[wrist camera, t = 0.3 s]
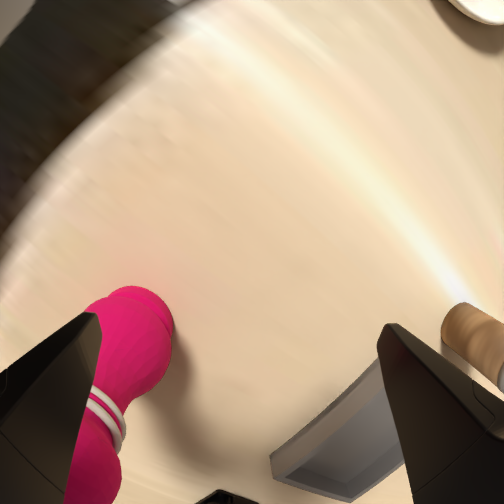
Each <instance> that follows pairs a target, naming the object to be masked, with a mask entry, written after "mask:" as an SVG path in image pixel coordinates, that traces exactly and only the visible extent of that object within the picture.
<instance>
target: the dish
mask: <svg viewBox="0 0 504 504" xmlns="http://www.w3.org/2000/svg"><path fill="white" fill-rule="evenodd" d="M269 456H270V462H271V468H272V474H273V479H275V480H277V481H280V482H283V483H286V484H288V485H291V486H294V487H297V488H300V489H303V490H306V491H309V492H312V493H315V494H319V495H322V496H325V497H329V498H332V499H336V500H340V501H344V502H347V503H351V502H353V501H354V500H356V499H357V498H359V497H360V496H362V495H363V494H364V493H366V492H367V491H369V490H370V489H371V488H373V487H374V486H376V485H377V484H378V483H380V482H381V481H382V480H384V479H385V478H386V477H388V476H389V475H390V474H391V473H393V472H394V471H395V470H396V469H398V468H399V467H400V466H401V465H403V464H404V463H405V461H404V457H403V453H402V449H401V445H400V441H399V438H398V434H397V430H396V426H395V423H394V419H393V416H392V412H391V409H390V405H389V402H388V398H387V395H386V391H385V388H384V383H383V378H382V373H381V367H380V362H379V357H378V358H377V359H376V360H375V361H374V362H373V363H372V364H371V365H370V366H369V367H368V368H367V369H366V370H365V372H364V373H363V374H362V375H361V376H360V377H359V378H358V379H357V380H356V381H355V382H354V383H353V384H352V385H350V386H349V387H348V388H347V389H346V390H345V391H344V392H343V393H342V394H341V395H340V396H339V397H338V398H337V399H336V400H335V401H334V402H333V403H331V404H330V405H329V406H328V407H327V408H326V409H325V410H324V411H323V412H322V413H320V414H319V415H318V416H317V417H316V418H315V419H314V420H312V421H311V422H310V423H309V424H308V425H307V426H305V427H304V428H303V429H302V430H301V431H300V432H298V433H297V434H296V435H295V436H293V437H292V438H291V439H290V440H289V441H287V442H286V443H285V444H284V445H282V446H281V447H280V448H278V449H277V450H276V451H275V452H273V453H272V454H271V455H269Z"/></svg>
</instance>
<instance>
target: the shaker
mask: <svg viewBox="0 0 504 504" xmlns="http://www.w3.org/2000/svg"><path fill="white" fill-rule="evenodd" d="M441 338H442V340H443V342H444V343H445V344H447V345H448V346H449V347H450V348H451V349H453V350H454V351H455V352H456V353H457V354H459V355H460V356H461V357H462V358H463V359H465V360H466V361H467V362H468V363H469V364H471V365H472V366H473V367H474V368H475V369H477V370H478V371H479V372H480V373H481V374H483V375H484V376H485V377H486V378H487V379H488V380H490V381H491V382H492V383H493V384H494V385H495V386H497V387H498V389H499V390H500V391H501V392H502V393H504V324H503V323H501V322H500V321H498V320H496V319H494V318H493V317H491V316H489V315H488V314H486V313H484V312H483V311H481V310H479V309H477V308H476V307H474V306H472V305H471V304H469V303H466V302H463V303H459V304H457V305H456V306H454V307H453V308H452V309H451V310H450V311H449V312H448V314H447V315H446V317H445V319H444V321H443V323H442V327H441Z"/></svg>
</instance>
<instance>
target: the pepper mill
mask: <svg viewBox="0 0 504 504" xmlns="http://www.w3.org/2000/svg"><path fill="white" fill-rule="evenodd" d="M85 311H87V312H95V313H96V314H97V315H98V318H99V322H100V326H101V330H102V343H101V347H100V352H99V357H98V362H97V367H96V372H95V377H94V381H93V385H92V388H91V391H90V395H89V398H88V401H87V405H86V408H85V412H84V415H83V419H82V423H81V426H80V430H79V434H78V438H77V442H76V446H75V450H74V454H73V458H72V462H71V467H70V471H69V476H68V481H67V486H66V491H65V497H64V502H63V504H112V503H113V501H114V500H115V498H116V496H117V493H118V491H119V489H120V485H121V480H122V475H121V466H120V460H119V458H118V456H117V454H118V453H119V452H120V450H121V446H122V442H123V440H124V438H125V436H126V424H125V420H124V417H123V415H124V413H125V411H126V409H127V407H128V405H129V404H130V403H131V401H132V400H133V399H135V398H137V397H139V396H141V395H143V394H144V393H146V392H148V391H149V390H151V389H152V388H153V387H154V386H155V385H156V384H157V383H158V382H159V381H160V380H161V378H162V377H163V375H164V374H165V372H166V369H167V367H168V365H169V362H170V359H171V341H170V339H171V336H172V332H173V321H172V316H171V313H170V311H169V309H168V307H167V306H166V304H165V303H164V302H163V301H162V299H161V298H160V297H158V296H157V295H156V294H155V293H153V292H151V291H149V290H147V289H145V288H142V287H137V286H126V287H122V288H119V289H117V290H115V291H114V292H112V293H111V294H110V295H109V296H108V297H106V298H102V299H100V300H97V301H95V302H94V303H92V304H91V305H90V306H88V307H87V308H86V309H85ZM85 311H84V312H85Z"/></svg>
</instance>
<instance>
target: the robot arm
mask: <svg viewBox="0 0 504 504" xmlns="http://www.w3.org/2000/svg"><path fill="white" fill-rule="evenodd" d="M101 343H102V330H101V326H100V322H99V318H98V315H97V314H96V313H95V312H87V311H85V312H82V313H81V314H80V315H78V316H77V317H75V318H74V319H73V320H71V321H70V322H68V323H67V324H66V325H64V326H63V327H61V328H60V329H59V330H57V331H56V332H54V333H53V334H52V335H50V336H49V337H48V338H46V339H45V340H43V341H42V342H41V343H39V344H38V345H37V346H35V347H34V348H33V349H31V350H30V351H29V352H27V353H26V354H25V355H23V356H22V357H21V358H19V359H18V360H17V361H15V362H14V363H13V364H11V365H10V366H9V367H8V369H5V370H3V371H2V372H1V373H0V504H63V502H64V497H65V491H66V486H67V481H68V476H69V471H70V467H71V462H72V458H73V454H74V450H75V446H76V442H77V438H78V434H79V430H80V426H81V423H82V419H83V415H84V412H85V408H86V405H87V401H88V398H89V395H90V391H91V388H92V385H93V381H94V377H95V372H96V367H97V362H98V357H99V352H100V347H101ZM377 352H378V357H379V362H380V367H381V373H382V378H383V383H384V388H385V391H386V395H387V398H388V402H389V405H390V409H391V412H392V416H393V419H394V423H395V426H396V430H397V434H398V438H399V441H400V445H401V449H402V453H403V457H404V461H405V465H406V470H407V474H408V478H409V483H410V487H411V492H412V494H413V495H412V497H413V502H414V504H504V401H502V400H501V399H499V398H498V397H496V396H495V395H493V394H492V393H490V392H489V391H488V390H486V389H485V388H484V387H482V386H481V385H480V384H478V383H477V382H476V381H474V380H472V379H471V378H470V377H469V376H468V375H466V374H465V373H464V372H462V371H461V370H460V369H459V368H457V367H456V366H455V365H453V364H452V363H451V362H449V361H448V360H447V359H445V358H444V357H443V356H441V355H440V354H438V353H437V352H436V351H434V350H433V349H432V348H430V347H429V346H428V345H426V344H425V343H424V342H422V341H421V340H420V339H418V338H417V337H415V336H414V335H413V334H411V333H410V332H409V331H407V330H406V329H405V328H403V327H402V326H400V325H399V324H397V323H387V324H385V325H384V327H383V330H382V332H381V334H380V337H379V339H378V341H377ZM195 504H258V503H256V502H253V501H250V500H247V499H244V498H241V497H239V496H236V495H233V494H231V493H228V492H225V491H223V490H216V491H215V492H213V493H212V494H210V495H209V496H207V497H205V498H204V499H202V500H200V501H199V502H197V503H195Z"/></svg>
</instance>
